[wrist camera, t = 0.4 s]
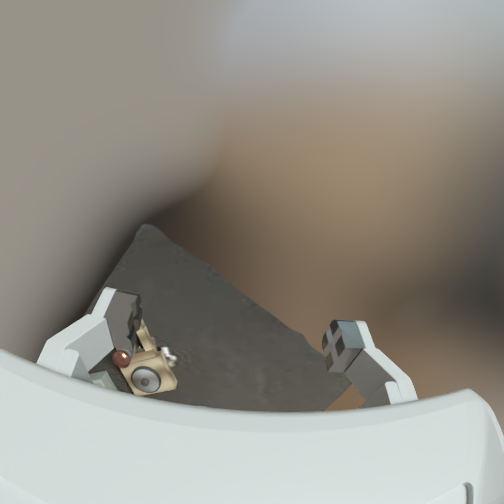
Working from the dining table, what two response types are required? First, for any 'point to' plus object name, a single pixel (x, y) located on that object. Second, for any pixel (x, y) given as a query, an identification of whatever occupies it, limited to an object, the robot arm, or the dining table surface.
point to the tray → (102, 380)
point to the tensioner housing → (148, 368)
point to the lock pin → (125, 355)
